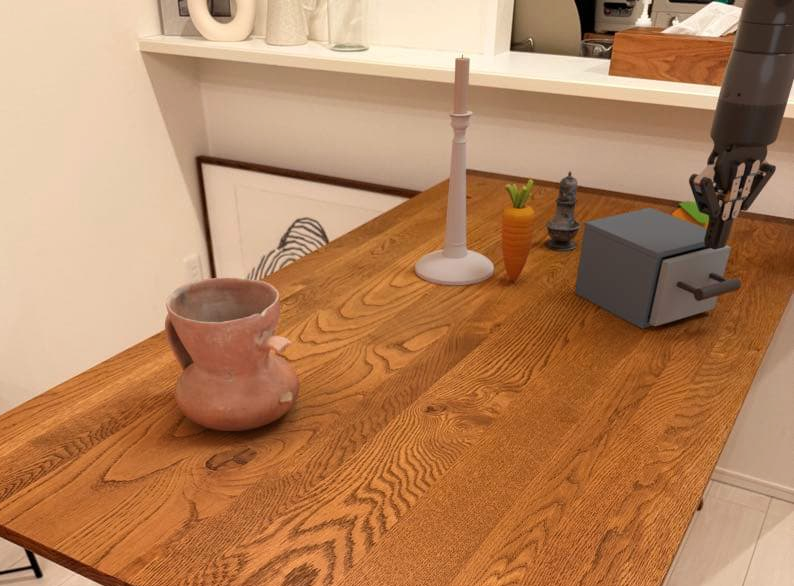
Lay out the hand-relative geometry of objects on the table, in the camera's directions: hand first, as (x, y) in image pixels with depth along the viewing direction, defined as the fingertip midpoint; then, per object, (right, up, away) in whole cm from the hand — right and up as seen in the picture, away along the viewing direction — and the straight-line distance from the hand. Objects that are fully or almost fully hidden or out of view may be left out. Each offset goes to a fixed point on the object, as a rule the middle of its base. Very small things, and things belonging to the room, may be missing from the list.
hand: (714, 246), depth 99 cm
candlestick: (-32, +6, +25) cm, 41 cm away
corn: (+8, +9, +28) cm, 31 cm away
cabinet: (-5, -3, +15) cm, 16 cm away
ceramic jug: (-61, -23, -8) cm, 65 cm away
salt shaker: (-13, +13, +33) cm, 38 cm away
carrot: (-23, +2, +21) cm, 31 cm away
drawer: (-3, -4, +11) cm, 12 cm away
